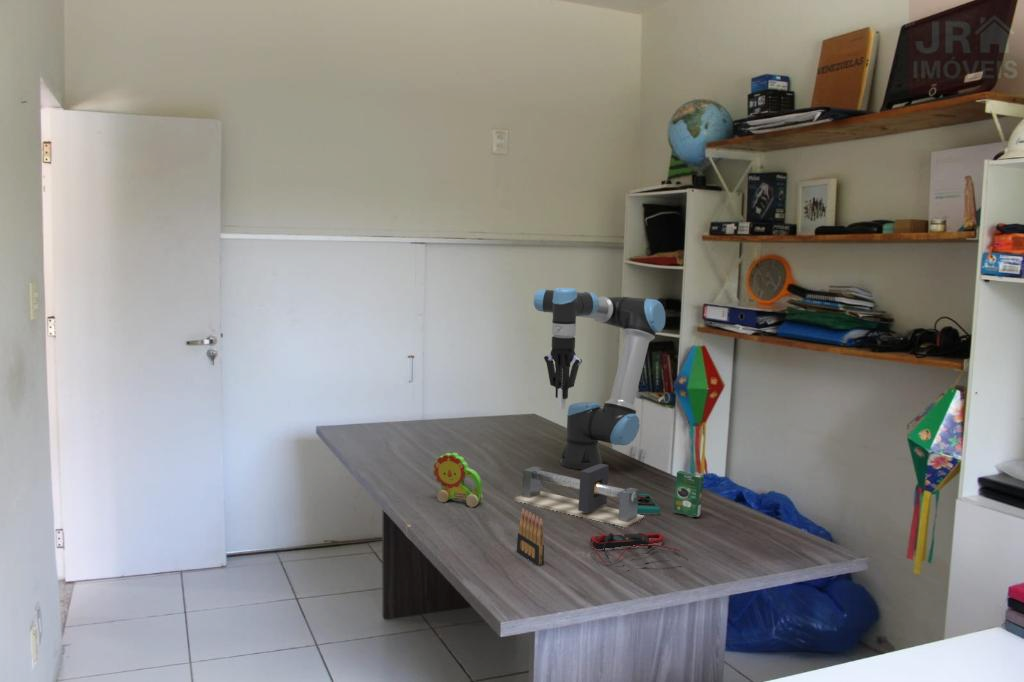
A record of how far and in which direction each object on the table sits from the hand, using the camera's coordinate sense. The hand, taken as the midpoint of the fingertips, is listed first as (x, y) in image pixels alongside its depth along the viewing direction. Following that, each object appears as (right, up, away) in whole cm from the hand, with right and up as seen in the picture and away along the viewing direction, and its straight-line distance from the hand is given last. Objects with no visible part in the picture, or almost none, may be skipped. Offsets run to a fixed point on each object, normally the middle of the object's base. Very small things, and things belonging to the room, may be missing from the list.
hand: (561, 408), depth 275 cm
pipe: (+4, -30, -16) cm, 34 cm away
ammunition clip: (-11, -34, -58) cm, 68 cm away
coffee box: (+37, -31, -17) cm, 52 cm away
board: (+4, -30, -16) cm, 34 cm away
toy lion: (-33, -28, -14) cm, 46 cm away
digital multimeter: (+25, -31, -11) cm, 41 cm away
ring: (+8, -28, -19) cm, 35 cm away
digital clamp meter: (+16, -35, -52) cm, 65 cm away
